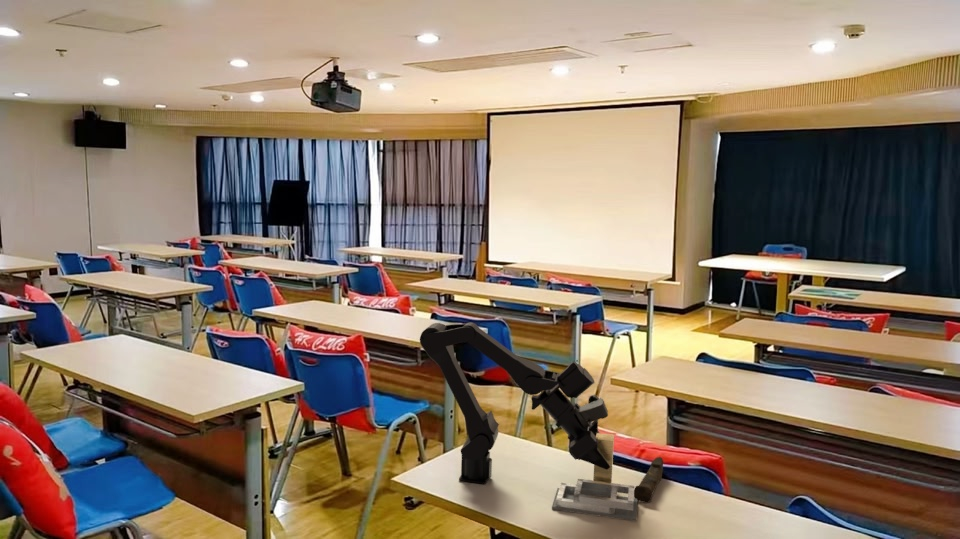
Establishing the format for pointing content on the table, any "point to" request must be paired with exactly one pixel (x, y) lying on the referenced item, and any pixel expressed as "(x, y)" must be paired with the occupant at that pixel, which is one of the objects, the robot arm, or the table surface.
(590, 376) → the robot arm
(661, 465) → the dark brown rod
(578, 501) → the grey slotted holder
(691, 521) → the table surface
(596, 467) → the pin
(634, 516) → the mat
